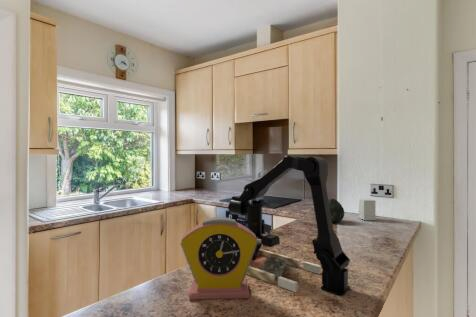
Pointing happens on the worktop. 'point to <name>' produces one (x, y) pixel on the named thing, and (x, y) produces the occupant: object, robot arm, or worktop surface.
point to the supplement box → (367, 209)
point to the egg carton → (274, 266)
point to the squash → (336, 210)
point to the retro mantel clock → (219, 258)
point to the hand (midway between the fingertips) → (254, 259)
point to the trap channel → (261, 257)
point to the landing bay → (292, 284)
